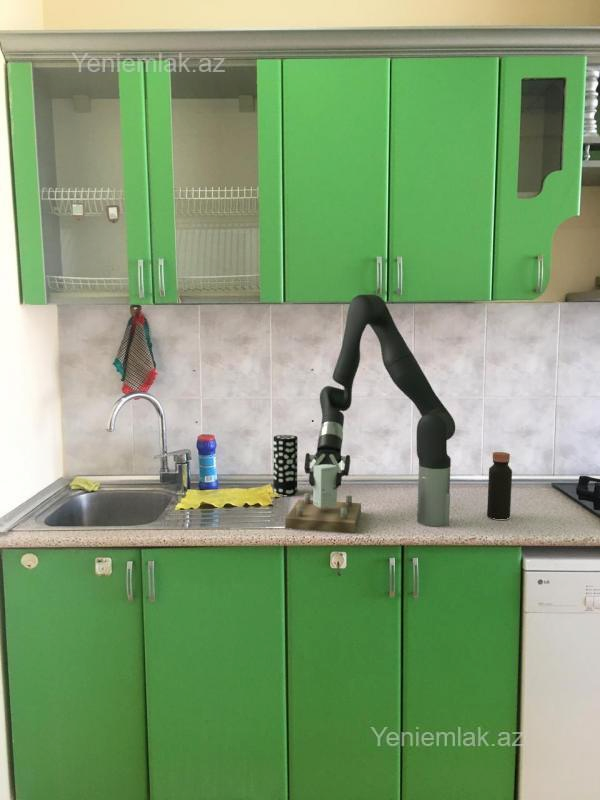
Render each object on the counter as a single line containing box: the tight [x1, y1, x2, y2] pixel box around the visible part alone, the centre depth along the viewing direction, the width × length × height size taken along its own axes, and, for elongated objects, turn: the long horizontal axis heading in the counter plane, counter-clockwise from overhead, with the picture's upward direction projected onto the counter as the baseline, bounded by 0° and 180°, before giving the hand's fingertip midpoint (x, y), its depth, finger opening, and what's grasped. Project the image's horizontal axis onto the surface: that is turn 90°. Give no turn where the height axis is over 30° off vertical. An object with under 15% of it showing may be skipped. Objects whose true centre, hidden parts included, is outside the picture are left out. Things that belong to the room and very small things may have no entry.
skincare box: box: [312, 464, 338, 508], centre depth 184 cm, size 6×4×12 cm
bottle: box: [486, 451, 513, 520], centre depth 188 cm, size 7×7×20 cm
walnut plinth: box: [284, 492, 362, 534], centre depth 185 cm, size 20×20×6 cm
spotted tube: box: [272, 434, 299, 497], centre depth 214 cm, size 8×8×20 cm
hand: (324, 485), depth 183 cm, fingers closed on skincare box, 7 cm apart
